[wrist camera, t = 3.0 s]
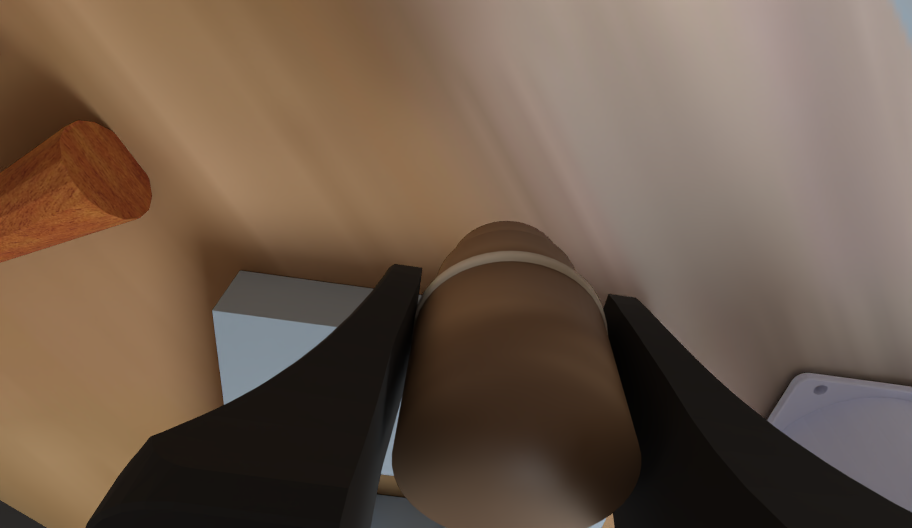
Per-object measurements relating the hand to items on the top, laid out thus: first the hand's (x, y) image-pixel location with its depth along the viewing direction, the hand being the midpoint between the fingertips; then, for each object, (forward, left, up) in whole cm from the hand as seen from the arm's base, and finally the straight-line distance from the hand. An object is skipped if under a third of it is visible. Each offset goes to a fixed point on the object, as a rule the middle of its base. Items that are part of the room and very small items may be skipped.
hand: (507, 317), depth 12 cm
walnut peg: (0, 0, -2) cm, 2 cm away
